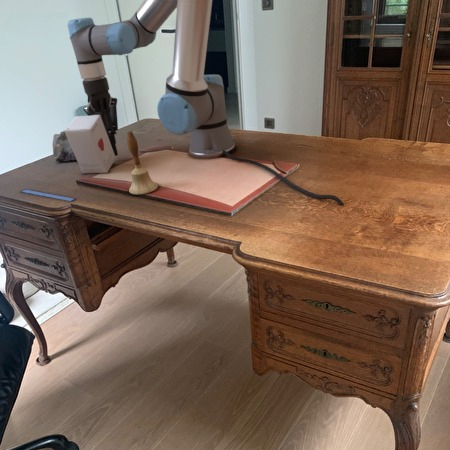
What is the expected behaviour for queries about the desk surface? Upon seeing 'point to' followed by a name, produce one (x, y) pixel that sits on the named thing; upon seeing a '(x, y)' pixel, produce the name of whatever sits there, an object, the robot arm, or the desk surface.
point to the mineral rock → (62, 148)
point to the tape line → (48, 195)
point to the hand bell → (139, 171)
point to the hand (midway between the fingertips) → (113, 155)
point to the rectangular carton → (90, 144)
